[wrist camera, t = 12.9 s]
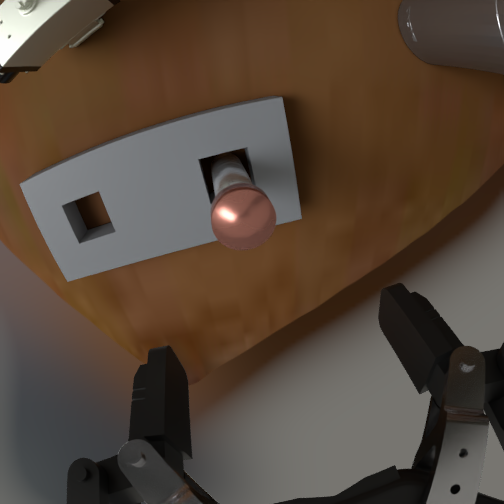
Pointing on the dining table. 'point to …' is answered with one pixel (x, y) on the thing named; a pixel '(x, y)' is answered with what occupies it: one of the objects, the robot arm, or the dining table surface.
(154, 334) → the dining table surface
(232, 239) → the lock pin
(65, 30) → the pneumatic valve
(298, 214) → the mount board
